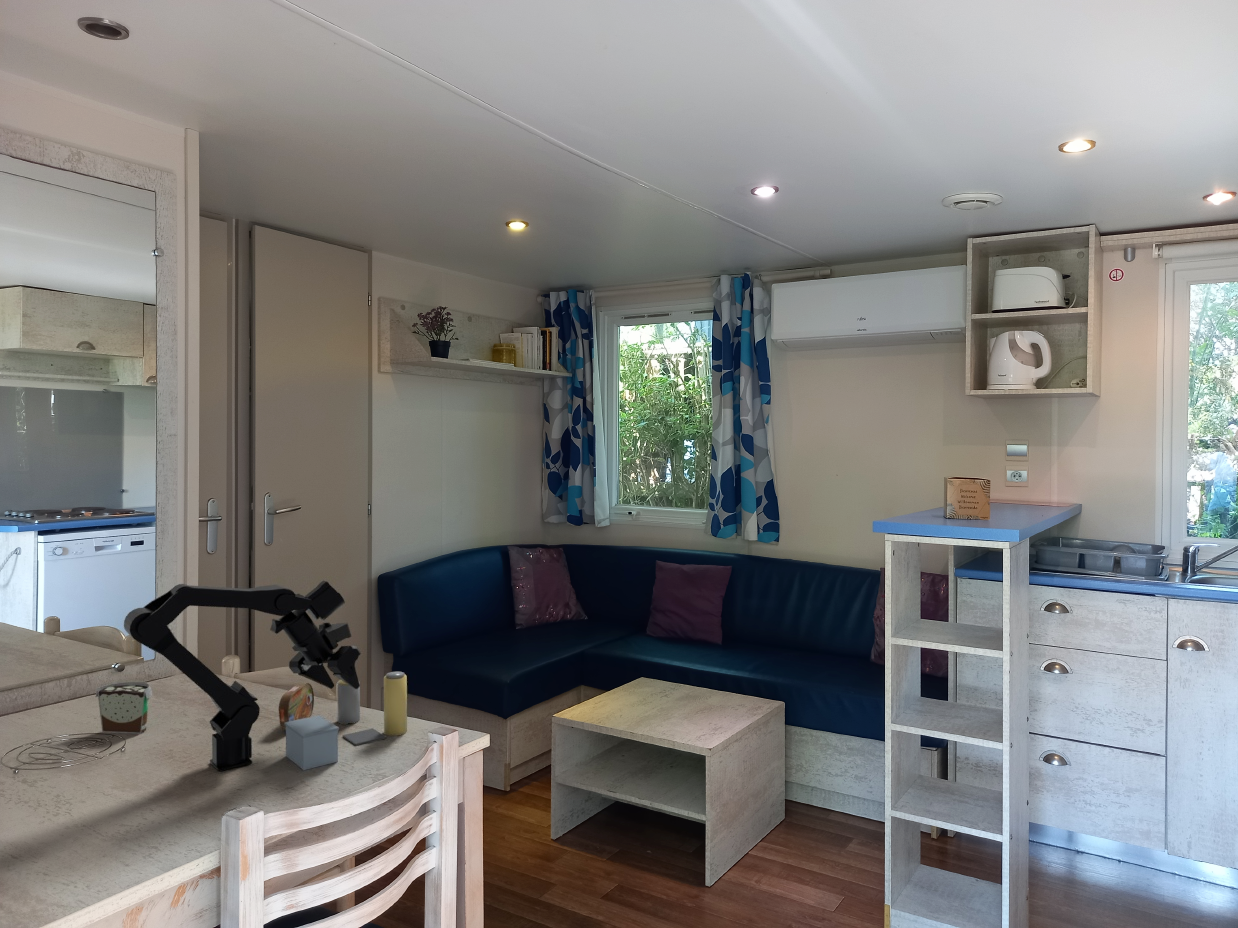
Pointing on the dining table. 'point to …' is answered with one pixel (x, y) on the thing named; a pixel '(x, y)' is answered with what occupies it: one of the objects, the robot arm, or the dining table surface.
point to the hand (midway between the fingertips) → (345, 687)
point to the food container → (124, 707)
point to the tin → (296, 704)
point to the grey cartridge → (348, 703)
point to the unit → (311, 742)
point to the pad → (364, 736)
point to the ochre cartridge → (395, 703)
